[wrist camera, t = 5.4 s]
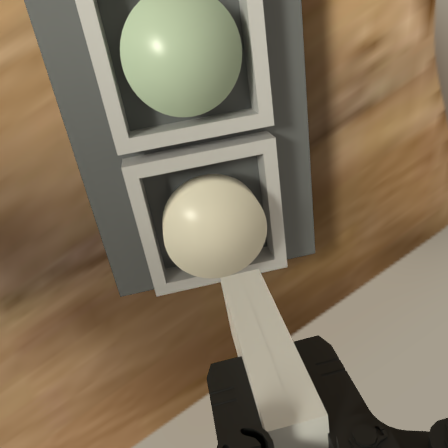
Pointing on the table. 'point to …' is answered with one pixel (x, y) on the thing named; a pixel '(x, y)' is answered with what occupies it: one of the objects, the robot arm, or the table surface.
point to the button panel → (181, 135)
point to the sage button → (181, 54)
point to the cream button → (213, 226)
